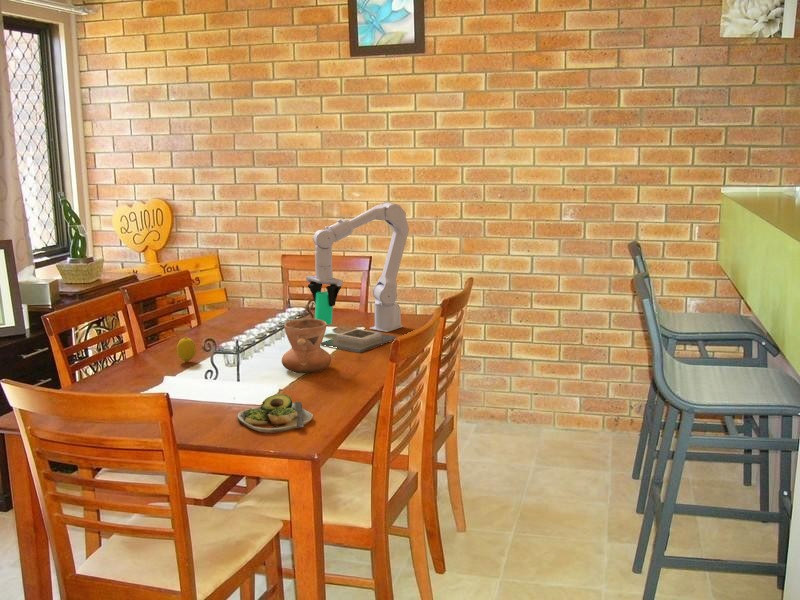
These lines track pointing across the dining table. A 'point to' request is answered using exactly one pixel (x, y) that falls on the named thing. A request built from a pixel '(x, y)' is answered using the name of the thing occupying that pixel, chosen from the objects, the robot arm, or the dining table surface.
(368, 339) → the candle base
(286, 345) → the dining table surface
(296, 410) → the salad plate
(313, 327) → the ceramic jug
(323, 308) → the candle
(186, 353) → the lemon
